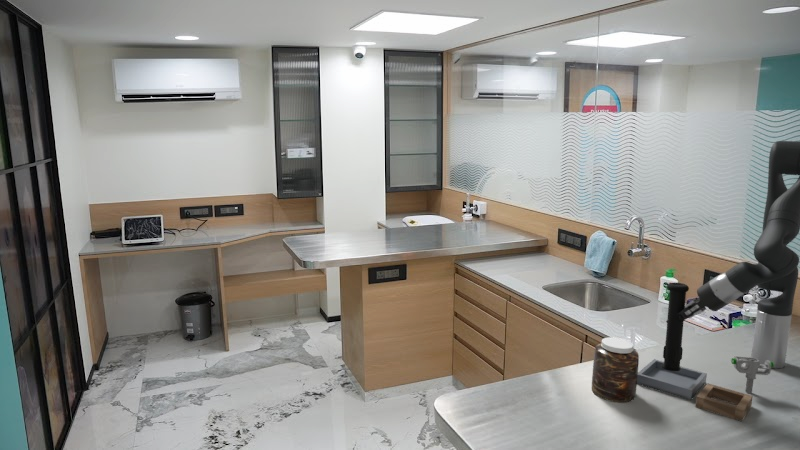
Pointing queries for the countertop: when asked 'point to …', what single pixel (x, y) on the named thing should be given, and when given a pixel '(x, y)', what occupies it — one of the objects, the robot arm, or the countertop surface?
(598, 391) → the jar
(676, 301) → the tube
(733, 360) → the mechanical component
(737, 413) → the collar
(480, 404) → the countertop surface
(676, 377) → the tray
